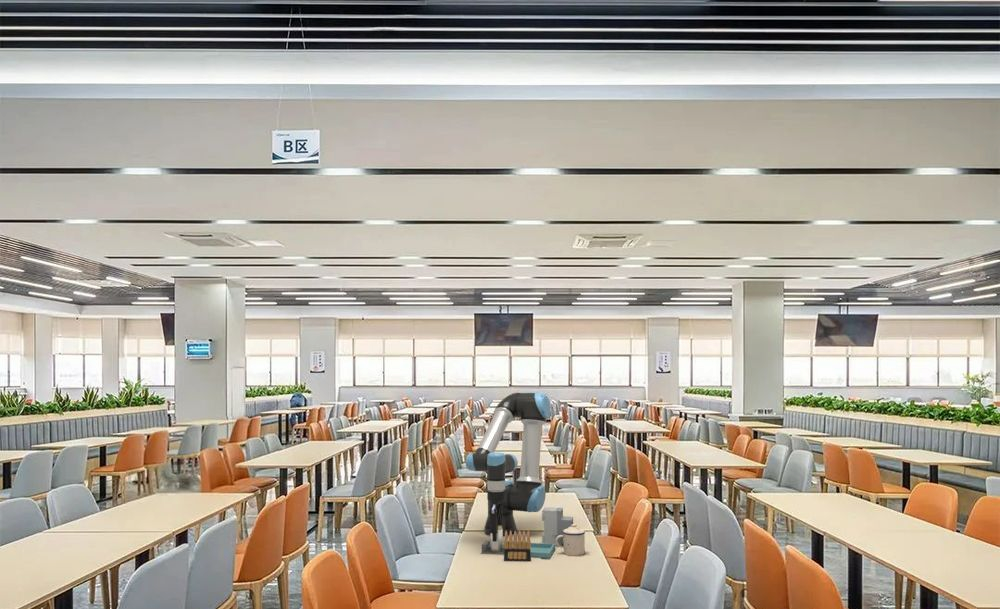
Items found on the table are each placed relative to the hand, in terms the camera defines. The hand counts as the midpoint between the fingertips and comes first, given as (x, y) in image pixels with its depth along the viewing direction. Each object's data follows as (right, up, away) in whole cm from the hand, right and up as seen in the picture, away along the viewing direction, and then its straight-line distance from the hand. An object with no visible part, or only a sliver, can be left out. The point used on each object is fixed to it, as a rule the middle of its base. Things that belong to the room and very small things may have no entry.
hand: (496, 547), depth 310 cm
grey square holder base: (0, -2, 0) cm, 2 cm away
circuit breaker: (+27, -3, +11) cm, 29 cm away
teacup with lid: (+30, -2, -3) cm, 31 cm away
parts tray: (+15, -1, -3) cm, 16 cm away
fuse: (0, -1, 0) cm, 1 cm away
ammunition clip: (+8, -1, -16) cm, 18 cm away
